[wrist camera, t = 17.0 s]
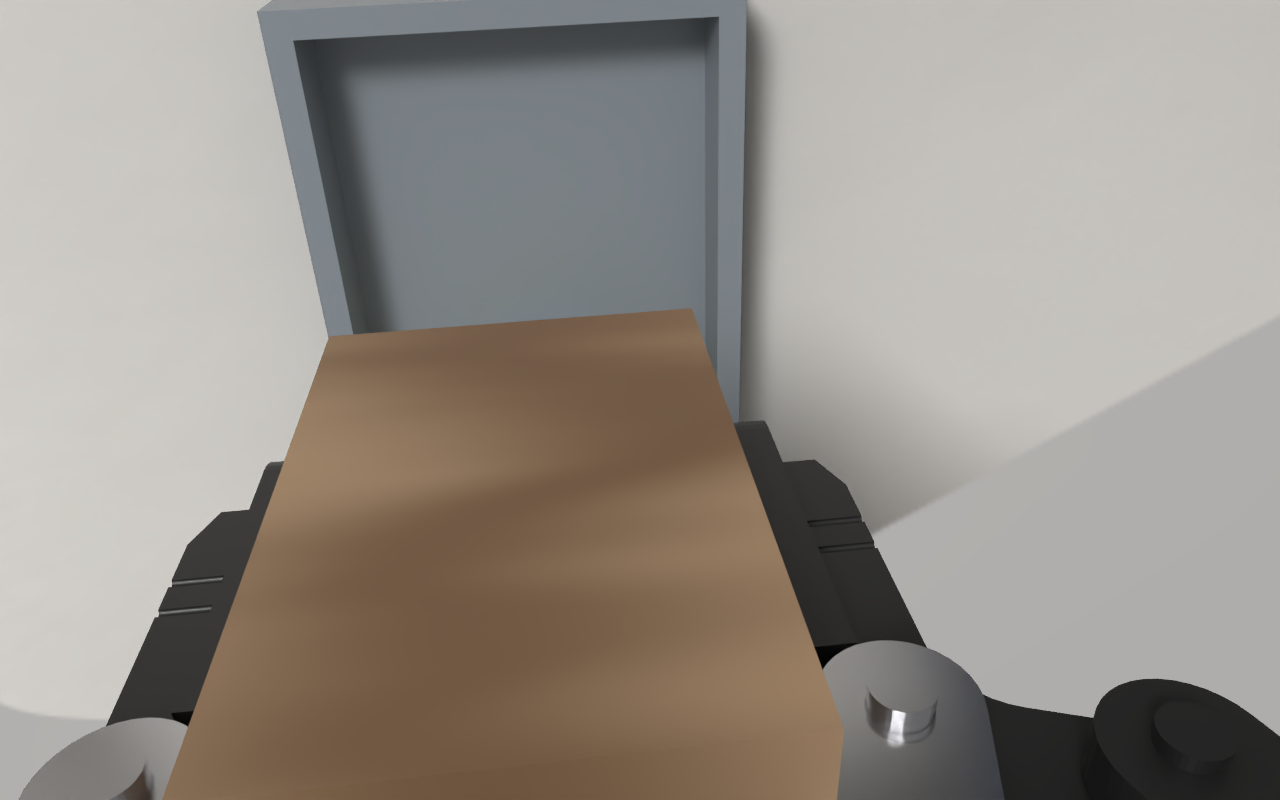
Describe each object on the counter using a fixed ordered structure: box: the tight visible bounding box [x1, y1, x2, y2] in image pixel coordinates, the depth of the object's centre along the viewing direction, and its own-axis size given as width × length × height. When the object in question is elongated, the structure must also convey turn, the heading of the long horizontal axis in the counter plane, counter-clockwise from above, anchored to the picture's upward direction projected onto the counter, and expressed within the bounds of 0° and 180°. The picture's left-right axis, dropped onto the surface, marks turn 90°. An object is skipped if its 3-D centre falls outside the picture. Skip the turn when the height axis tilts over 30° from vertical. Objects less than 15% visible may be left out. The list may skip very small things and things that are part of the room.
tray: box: [257, 0, 747, 423], centre depth 26 cm, size 10×15×2 cm
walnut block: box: [162, 308, 844, 800], centre depth 9 cm, size 4×4×6 cm
